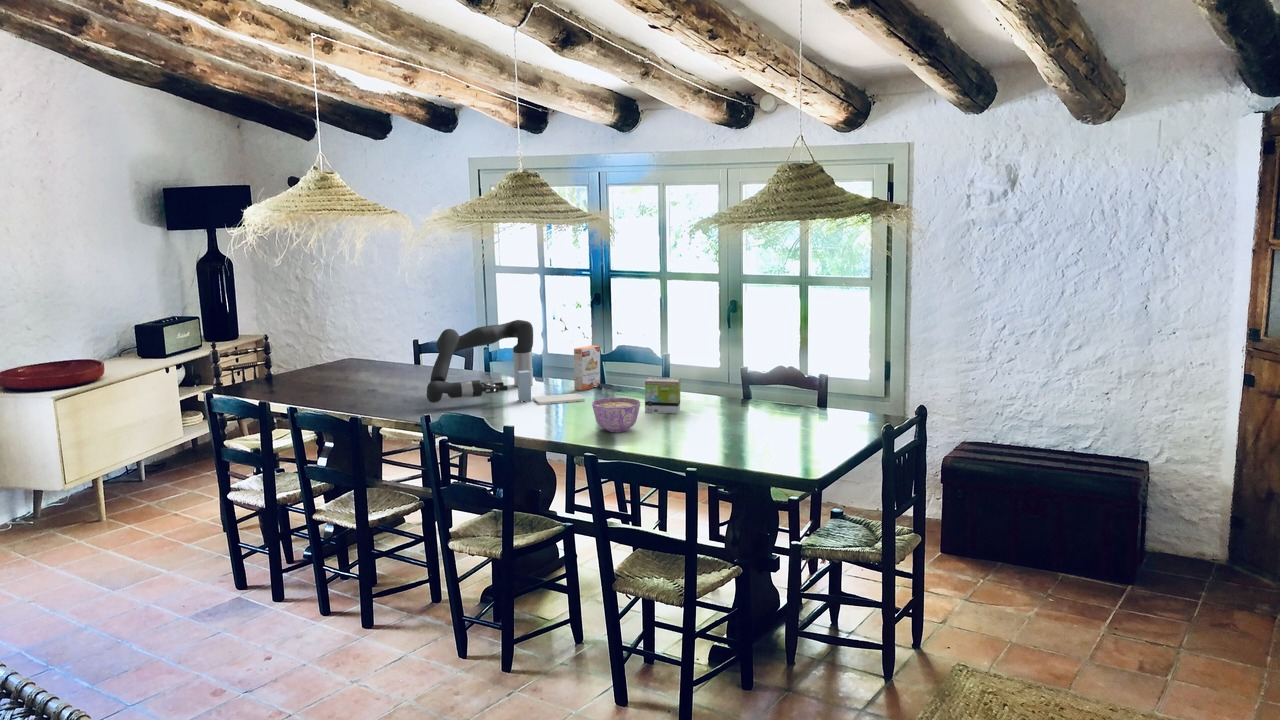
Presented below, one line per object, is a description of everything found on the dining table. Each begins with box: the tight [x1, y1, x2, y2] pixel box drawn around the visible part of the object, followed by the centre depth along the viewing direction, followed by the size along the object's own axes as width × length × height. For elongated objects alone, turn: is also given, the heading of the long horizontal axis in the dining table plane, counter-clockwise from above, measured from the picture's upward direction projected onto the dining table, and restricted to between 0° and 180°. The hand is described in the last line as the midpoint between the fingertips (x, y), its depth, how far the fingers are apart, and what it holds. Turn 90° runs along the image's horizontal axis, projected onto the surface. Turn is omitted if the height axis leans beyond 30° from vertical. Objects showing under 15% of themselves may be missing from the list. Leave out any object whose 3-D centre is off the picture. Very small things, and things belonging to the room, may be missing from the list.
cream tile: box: [531, 393, 586, 405], centre depth 466 cm, size 13×22×1 cm, turn 110°
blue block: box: [517, 370, 532, 402], centre depth 464 cm, size 5×5×14 cm
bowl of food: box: [591, 397, 641, 433], centre depth 406 cm, size 20×20×12 cm
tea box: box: [644, 376, 681, 414], centre depth 439 cm, size 15×10×15 cm, turn 82°
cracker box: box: [573, 345, 601, 392], centre depth 491 cm, size 14×6×21 cm, turn 143°
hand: (505, 386), depth 461 cm, fingers open, 8 cm apart
